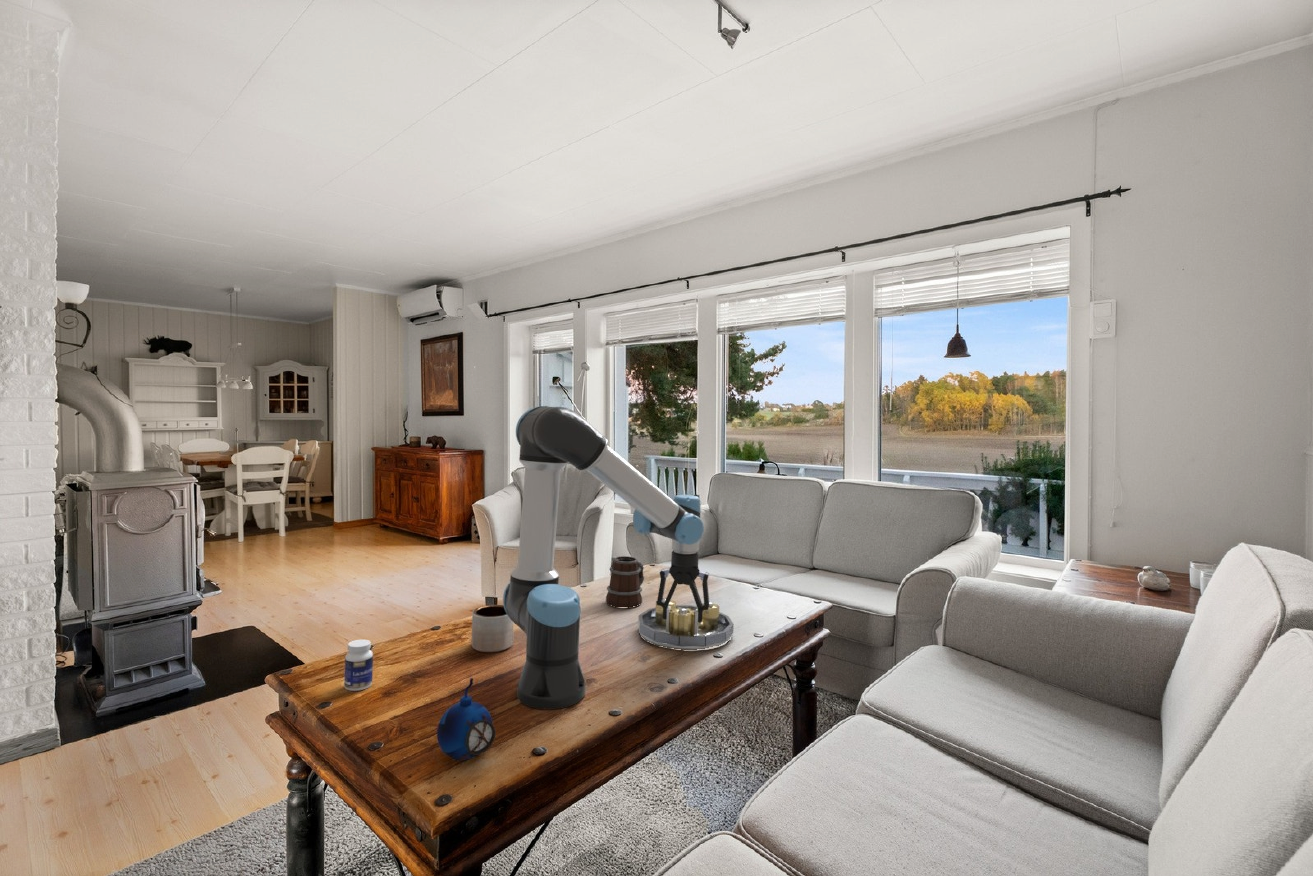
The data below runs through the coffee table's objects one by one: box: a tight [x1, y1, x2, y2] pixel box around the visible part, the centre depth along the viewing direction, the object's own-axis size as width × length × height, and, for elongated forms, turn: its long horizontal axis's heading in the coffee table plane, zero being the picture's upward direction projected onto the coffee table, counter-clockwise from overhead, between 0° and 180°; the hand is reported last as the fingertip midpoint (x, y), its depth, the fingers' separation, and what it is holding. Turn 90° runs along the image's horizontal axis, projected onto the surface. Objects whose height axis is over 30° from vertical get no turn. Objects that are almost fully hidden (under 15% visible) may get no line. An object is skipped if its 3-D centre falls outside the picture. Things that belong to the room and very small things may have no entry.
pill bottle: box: [343, 639, 374, 692], centre depth 140 cm, size 6×6×10 cm
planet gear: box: [669, 607, 695, 636], centre depth 173 cm, size 7×7×6 cm
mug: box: [605, 555, 645, 609], centre depth 208 cm, size 16×12×15 cm
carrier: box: [637, 597, 734, 650], centre depth 180 cm, size 27×27×10 cm
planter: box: [470, 604, 514, 654], centre depth 166 cm, size 11×11×10 cm
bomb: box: [436, 677, 497, 761], centre depth 113 cm, size 10×11×15 cm
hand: (682, 631), depth 173 cm, fingers closed on planet gear, 7 cm apart
